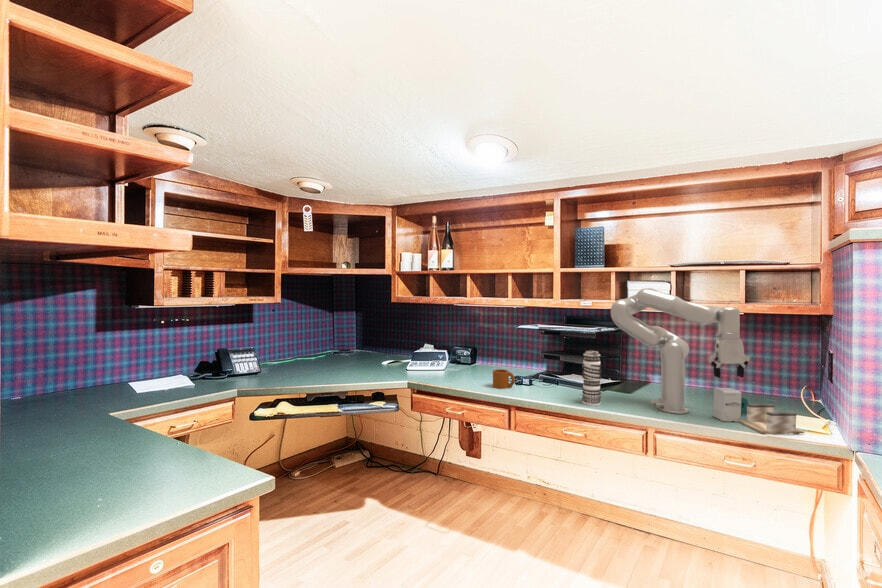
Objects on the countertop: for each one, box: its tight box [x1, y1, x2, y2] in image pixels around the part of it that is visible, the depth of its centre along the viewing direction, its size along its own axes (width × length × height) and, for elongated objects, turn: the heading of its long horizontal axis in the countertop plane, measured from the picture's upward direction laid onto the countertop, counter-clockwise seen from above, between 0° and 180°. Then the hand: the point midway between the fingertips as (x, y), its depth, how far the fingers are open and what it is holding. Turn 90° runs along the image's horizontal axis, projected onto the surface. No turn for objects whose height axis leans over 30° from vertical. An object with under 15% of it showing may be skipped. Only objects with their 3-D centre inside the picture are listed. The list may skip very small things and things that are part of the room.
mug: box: [492, 369, 516, 390], centre depth 237 cm, size 9×12×9 cm
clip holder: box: [738, 403, 805, 435], centre depth 171 cm, size 16×13×8 cm
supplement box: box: [712, 387, 742, 423], centre depth 182 cm, size 7×7×13 cm
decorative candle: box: [581, 350, 603, 406], centre depth 206 cm, size 9×9×25 cm
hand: (728, 376), depth 181 cm, fingers open, 9 cm apart
